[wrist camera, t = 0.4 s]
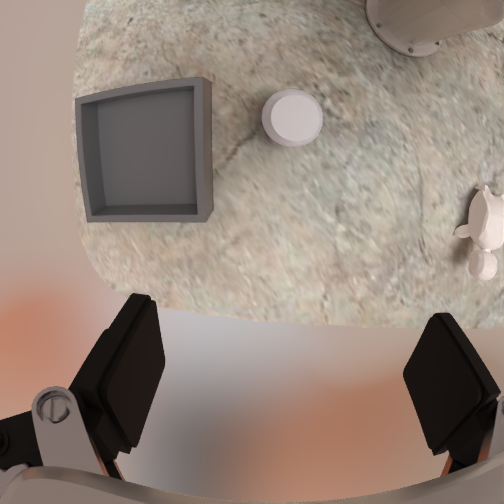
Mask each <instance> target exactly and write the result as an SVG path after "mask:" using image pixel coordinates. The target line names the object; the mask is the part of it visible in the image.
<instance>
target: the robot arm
mask: <svg viewBox="0 0 504 504" xmlns="http://www.w3.org/2000/svg"><path fill="white" fill-rule="evenodd" d="M365 7H366V15H367V18H368V21H369V23H370V25H371V27H372V28H373V30H374V31H375V33H376V34H377V35H378V36H379V38H380V39H381V40H382V41H383V42H384V43H386V44H387V45H388V46H389V47H391V48H392V49H394V50H395V51H397V52H399V53H401V54H404V55H407V56H410V57H425V56H429V55H431V54H434V53H435V52H436V51H437V50H438V49H439V48H440V47H441V44H442V42H443V39H446V38H449V37H453V36H456V35H459V34H462V33H466V32H469V31H473V30H477V29H481V28H484V27H489V26H492V25H495V24H497V23H499V22H500V21H502V19H503V18H504V0H366V5H365ZM377 26H378V27H377ZM408 50H409V51H408ZM164 367H165V355H164V350H163V344H162V338H161V332H160V326H159V320H158V313H157V306H156V302H155V301H154V300H151V297H150V296H149V295H143V294H136V293H133V294H131V295H130V297H129V298H128V300H127V301H126V303H125V304H124V306H123V307H122V309H121V310H120V312H119V313H118V315H117V316H116V318H115V319H114V321H113V322H112V324H111V325H110V327H109V329H106V330H104V332H103V333H102V334H101V336H100V337H99V339H98V341H97V342H96V344H95V345H94V347H93V348H92V350H91V352H90V353H89V355H88V357H87V358H86V360H85V361H84V363H83V365H82V366H81V368H80V370H79V372H78V373H77V375H76V377H75V378H74V380H73V382H72V383H71V385H70V387H69V389H66V388H63V387H58V386H54V387H49V388H46V389H44V390H42V391H41V392H40V393H38V394H37V396H36V397H35V399H34V400H33V403H32V410H31V411H28V412H24V413H21V414H19V415H15V416H12V417H9V418H5V419H2V420H0V504H504V396H503V397H501V399H500V400H499V401H497V400H496V398H497V397H498V396H499V394H500V393H501V391H500V389H499V388H498V386H497V384H496V382H495V381H494V379H493V378H492V376H491V374H490V372H489V371H488V369H487V367H486V366H485V364H484V362H483V361H482V359H481V358H480V356H479V355H478V353H477V352H476V350H475V348H474V347H473V345H472V344H471V342H470V341H469V339H468V338H467V337H466V335H465V333H464V332H463V331H462V329H461V328H460V326H459V325H458V323H457V322H456V321H455V319H454V318H453V316H452V315H451V314H450V313H435V314H434V315H433V316H432V317H431V318H430V319H429V320H428V323H427V325H426V327H425V329H424V331H423V333H422V335H421V338H420V339H419V342H418V344H417V346H416V347H415V349H414V352H413V353H412V355H411V357H410V359H409V361H408V363H407V365H406V366H405V368H404V371H403V378H404V381H405V383H406V385H407V388H408V391H409V393H410V396H411V399H412V401H413V404H414V407H415V409H416V412H417V415H418V418H419V420H420V423H421V427H422V430H423V433H424V436H425V438H426V442H427V445H428V447H429V448H430V449H432V452H433V455H434V456H435V455H438V454H442V453H445V452H446V451H447V450H448V451H449V456H448V459H447V461H446V464H445V466H444V469H443V471H442V474H441V476H440V477H438V478H435V479H432V480H429V481H426V482H422V483H419V484H415V485H412V486H408V487H404V488H400V489H396V490H391V491H387V492H382V493H377V494H372V495H366V496H360V497H353V498H346V499H338V500H329V501H316V502H298V503H297V502H296V503H258V502H241V501H229V500H219V499H211V498H204V497H197V496H191V495H184V494H178V493H173V492H168V491H164V490H159V489H154V488H150V487H146V486H142V485H138V484H134V483H131V482H127V481H125V479H124V477H123V475H122V473H121V471H120V469H119V467H118V465H117V463H116V462H115V459H116V458H117V455H118V453H119V451H121V452H124V453H127V454H130V451H131V448H132V447H134V448H135V447H137V445H138V443H139V440H140V436H141V434H142V431H143V428H144V425H145V422H146V419H147V416H148V413H149V410H150V407H151V404H152V401H153V398H154V396H155V393H156V390H157V387H158V384H159V381H160V379H161V376H162V373H163V370H164Z"/></svg>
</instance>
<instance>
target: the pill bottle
mask: <svg viewBox="0 0 504 504" xmlns="http://www.w3.org/2000/svg"><path fill="white" fill-rule="evenodd" d="M262 124H263V127H264V130H265V131H266V133H267V135H268V136H269V137H270V138H271V139H272V140H273V141H275V142H276V143H278V144H280V145H283V146H286V147H300V146H304V145H306V144H308V143H310V142H311V141H313V140H314V139H315V138H316V137H317V135H318V134H319V132H320V130H321V128H322V124H323V113H322V110H321V107H320V105H319V103H318V102H317V101H316V99H315V98H314V97H313V96H311V95H310V94H309V93H307V92H305V91H302V90H299V89H284V90H281V91H278V92H276V93H275V94H273V95H272V96H271V97H270V98H269V99H268V100H267V101H266V103H265V105H264V107H263V110H262Z"/></svg>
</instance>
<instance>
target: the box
mask: <svg viewBox="0 0 504 504" xmlns="http://www.w3.org/2000/svg"><path fill="white" fill-rule="evenodd" d="M75 115H76V135H77V149H78V160H79V169H80V178H81V186H82V193H83V199H84V206H85V212H86V217H87V222H201V223H206V222H207V220H208V218H209V216H210V215H211V213H212V211H213V210H214V204H213V170H212V82H210V81H209V80H207V79H205V78H204V77H195V78H184V79H174V80H166V81H158V82H151V83H145V84H139V85H133V86H128V87H122V88H117V89H113V90H108V91H103V92H99V93H95V94H91V95H87V96H83V97H79V98H76V99H75Z"/></svg>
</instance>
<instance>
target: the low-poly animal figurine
mask: <svg viewBox="0 0 504 504" xmlns="http://www.w3.org/2000/svg"><path fill="white" fill-rule="evenodd" d="M475 189H479V191H478V193H477V194H476V195H475V196H474V198H473V200H472V202H471V204H470V208H469V218H468V224H466V225H462V226H459V227H457V228H456V229H455V232H454V236H456V237H459V238H466V237H471V238H472V240H473V241H474V243H475V244H476V245H477V246H479V247H480V248H481V250H476V251H473V252H471V254H470V261H469V267H468V268H469V272H470V273H471V275H472V276H473V277H474V278H476V279H479V280H483V281H487V280H489V279H491V278H492V277H493V276H494V275H495V274H496V271H497V260H496V257H495V256H494V255H493V254H491V253H490V252H491V250H495V249H497V248H499V247H501V246H502V244H503V242H504V195H503V194H496V195H492V193H491V192H490V191H489V189H488V186H486V185H483V186H475Z"/></svg>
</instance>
